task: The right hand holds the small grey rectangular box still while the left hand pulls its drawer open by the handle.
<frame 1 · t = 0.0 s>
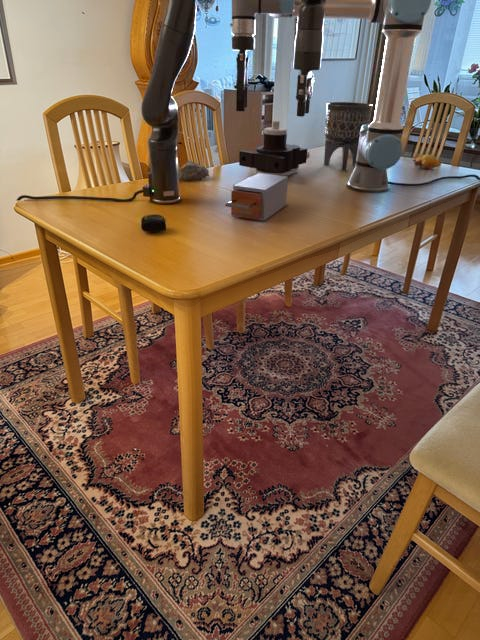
left hand: (302, 114, 132), 29 cm above the table, tool pointing down, fingers open, 8 cm apart
right hand: (241, 109, 155), 28 cm above the table, tool pointing down, fingers open, 13 cm apart
grey rectangular box: (260, 210, 149), on the table
mechanical component: (280, 173, 196), on the table
drawer: (253, 200, 142), point 5 cm above the table, slide at 1.2 cm
tape measure: (155, 231, 129), on the table
rock: (194, 179, 184), on the table
toy: (424, 167, 213), on the table
figurine: (350, 154, 238), on the table
planter: (341, 167, 211), on the table
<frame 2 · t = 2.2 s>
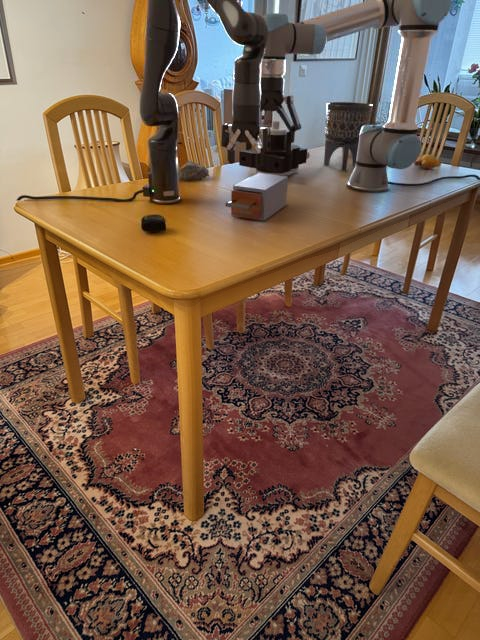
left hand: (245, 165, 129), 17 cm above the table, tool pointing down, fingers open, 8 cm apart
right hand: (267, 151, 145), 17 cm above the table, tool pointing down, fingers open, 13 cm apart
nothing on the table moved.
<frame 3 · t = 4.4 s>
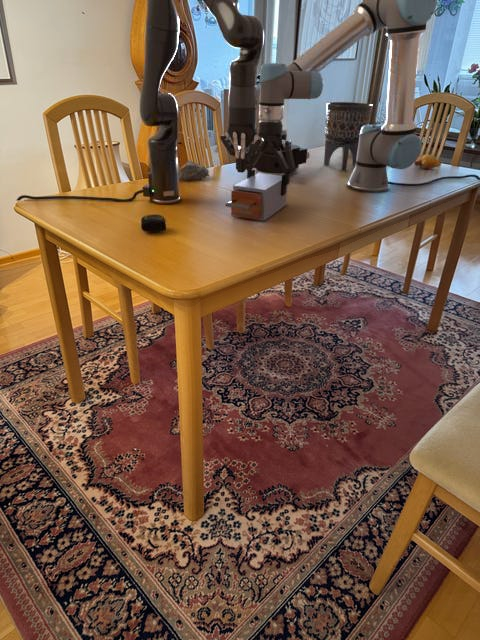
left hand: (241, 171, 129), 15 cm above the table, tool pointing down, fingers closed
right hand: (267, 192, 151), 5 cm above the table, tool pointing down, fingers closed on grey rectangular box, 11 cm apart
grey rectangular box: (260, 210, 149), on the table, touching right hand
everything else where it was.
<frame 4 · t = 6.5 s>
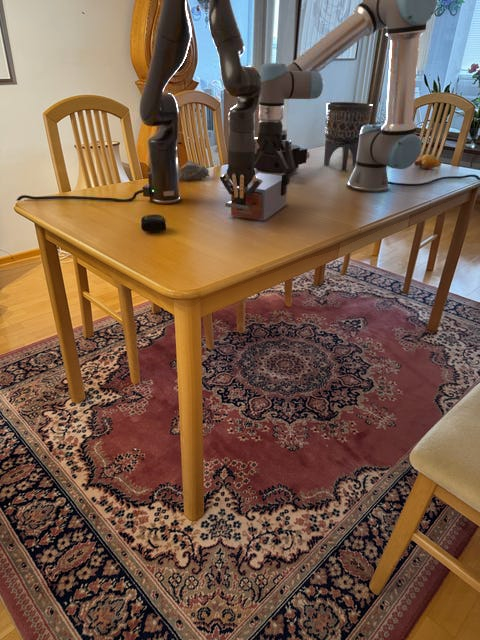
left hand: (240, 209, 134), 4 cm above the table, tool pointing down, fingers closed
right hand: (267, 192, 151), 5 cm above the table, tool pointing down, fingers closed on grey rectangular box, 11 cm apart
grey rectangular box: (260, 210, 149), on the table, touching right hand
drawer: (253, 200, 142), point 5 cm above the table, slide at 1.2 cm, touching left hand
everything else where it was.
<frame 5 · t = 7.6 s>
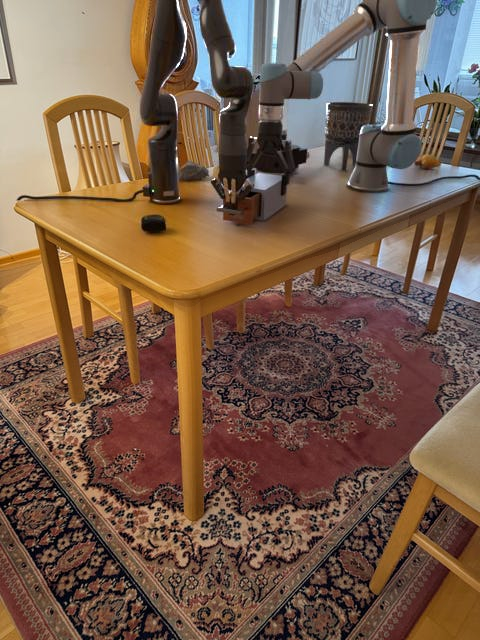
left hand: (232, 214, 130), 4 cm above the table, tool pointing down, fingers closed
right hand: (267, 192, 151), 5 cm above the table, tool pointing down, fingers closed on grey rectangular box, 11 cm apart
grey rectangular box: (260, 210, 149), on the table, touching right hand
drawer: (246, 204, 137), point 5 cm above the table, slide at 6.6 cm, touching left hand
everything else where it was.
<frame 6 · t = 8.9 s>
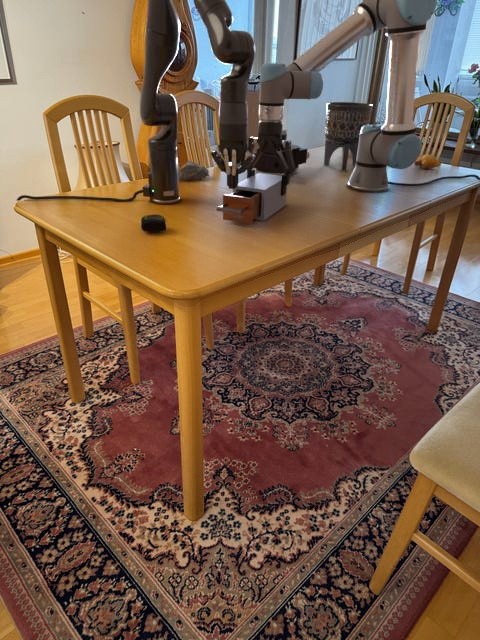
left hand: (232, 188, 127), 12 cm above the table, tool pointing down, fingers closed
right hand: (267, 192, 151), 5 cm above the table, tool pointing down, fingers closed on grey rectangular box, 11 cm apart
grey rectangular box: (260, 210, 149), on the table, touching right hand
drawer: (246, 204, 138), point 5 cm above the table, slide at 6.6 cm
everything else where it was.
when the right hand's fingers open (5 cm above the table, at t = 9.3 s): grey rectangular box stays where it is, on the table.
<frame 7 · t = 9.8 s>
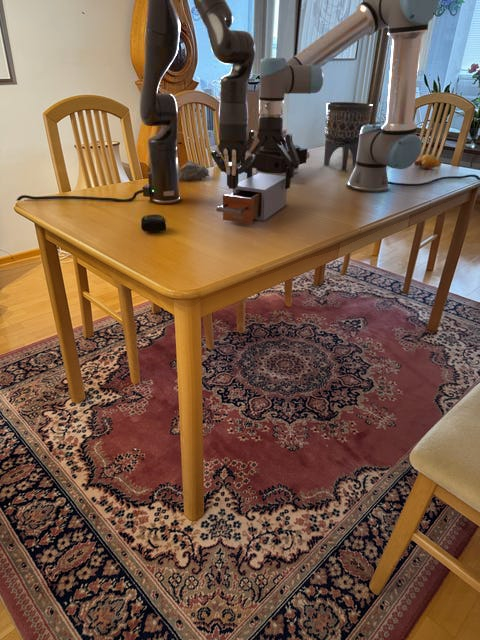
left hand: (232, 188, 127), 12 cm above the table, tool pointing down, fingers closed
right hand: (268, 185, 150), 7 cm above the table, tool pointing down, fingers open, 13 cm apart
grey rectangular box: (260, 210, 149), on the table
everything else where it was.
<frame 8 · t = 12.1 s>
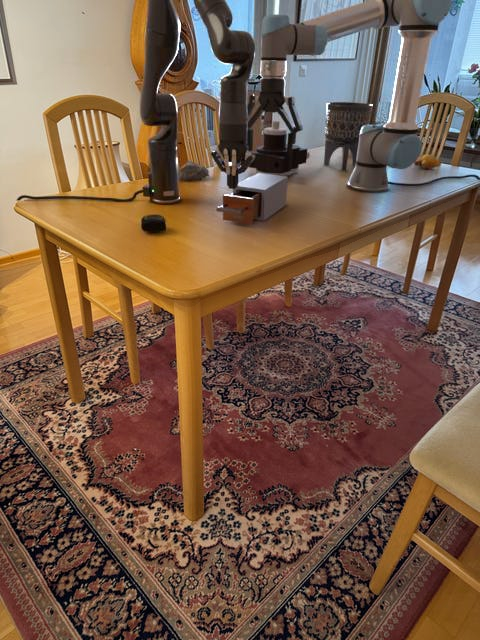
left hand: (232, 188, 127), 12 cm above the table, tool pointing down, fingers closed
right hand: (269, 153, 144), 17 cm above the table, tool pointing down, fingers open, 13 cm apart
nothing on the table moved.
at the end: drawer slide at 6.6 cm; grey rectangular box tilted 0°; grey rectangular box never tilted more than 1° during the clip; grey rectangular box moved 0.1 cm from its start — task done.
